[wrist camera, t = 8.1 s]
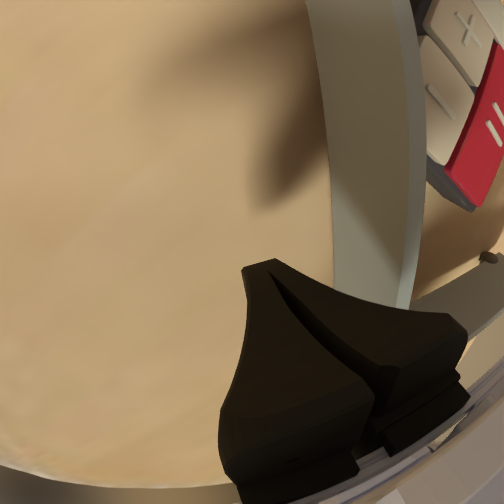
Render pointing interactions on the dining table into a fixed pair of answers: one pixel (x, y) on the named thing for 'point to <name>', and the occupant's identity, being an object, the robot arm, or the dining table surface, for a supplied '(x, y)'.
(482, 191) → the calculator
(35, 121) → the dining table surface
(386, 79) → the grey u-shaped barrier
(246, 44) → the dining table surface
